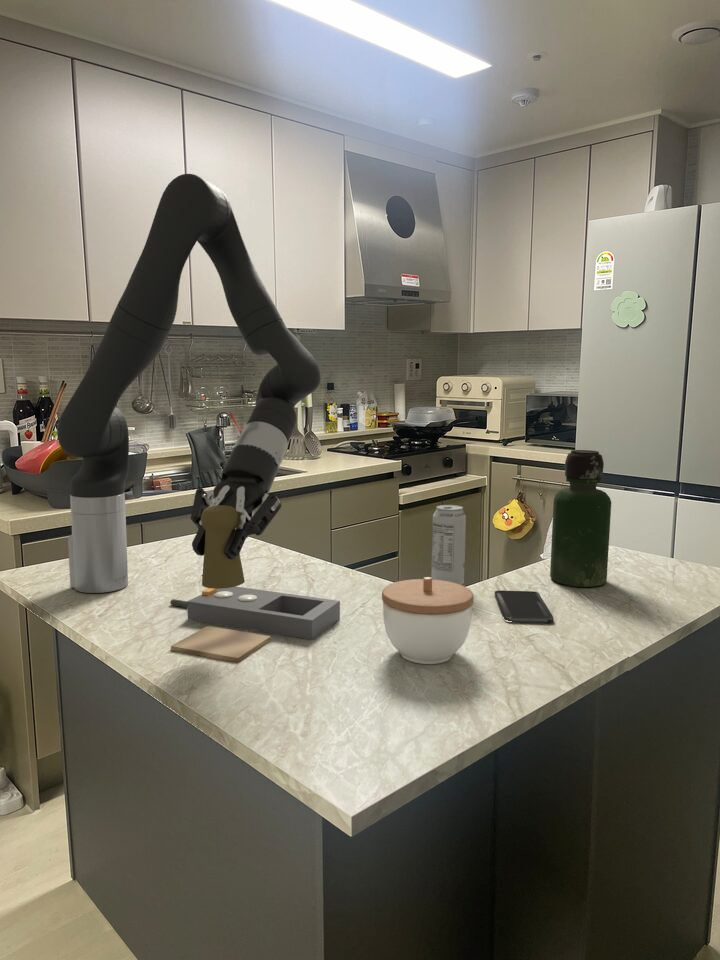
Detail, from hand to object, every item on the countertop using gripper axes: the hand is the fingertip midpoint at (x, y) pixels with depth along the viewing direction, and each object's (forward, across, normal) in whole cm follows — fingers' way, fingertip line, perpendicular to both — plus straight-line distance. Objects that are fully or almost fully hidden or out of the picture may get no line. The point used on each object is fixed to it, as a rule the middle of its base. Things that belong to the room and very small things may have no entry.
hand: (213, 553), depth 98 cm
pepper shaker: (+2, 0, +5) cm, 5 cm away
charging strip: (0, -4, +20) cm, 20 cm away
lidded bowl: (+3, +28, +17) cm, 33 cm away
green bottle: (-30, +44, +51) cm, 74 cm away
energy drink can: (-20, +22, +41) cm, 51 cm away
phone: (-15, +37, +36) cm, 54 cm away
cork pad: (+9, 0, +11) cm, 14 cm away
